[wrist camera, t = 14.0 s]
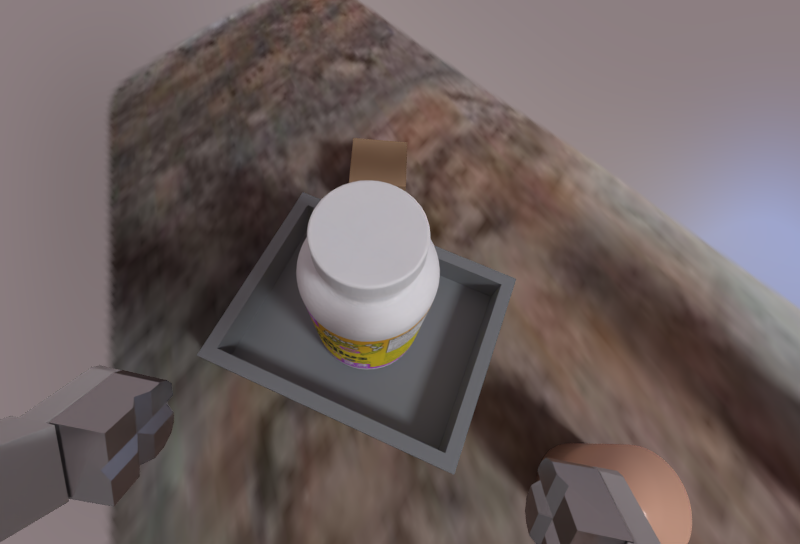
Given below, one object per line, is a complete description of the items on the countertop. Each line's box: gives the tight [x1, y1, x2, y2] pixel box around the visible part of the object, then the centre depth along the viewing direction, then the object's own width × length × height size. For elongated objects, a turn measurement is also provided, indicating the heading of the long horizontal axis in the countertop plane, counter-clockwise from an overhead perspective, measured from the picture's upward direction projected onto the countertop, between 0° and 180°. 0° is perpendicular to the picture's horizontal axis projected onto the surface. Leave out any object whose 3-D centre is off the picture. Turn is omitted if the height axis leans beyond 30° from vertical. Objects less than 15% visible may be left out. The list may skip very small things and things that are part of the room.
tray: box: [197, 192, 516, 474], centre depth 25 cm, size 13×16×3 cm
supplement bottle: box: [296, 180, 440, 370], centre depth 20 cm, size 7×7×13 cm
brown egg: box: [537, 443, 692, 544], centre depth 21 cm, size 5×5×6 cm
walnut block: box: [349, 138, 407, 191], centre depth 29 cm, size 4×4×4 cm
